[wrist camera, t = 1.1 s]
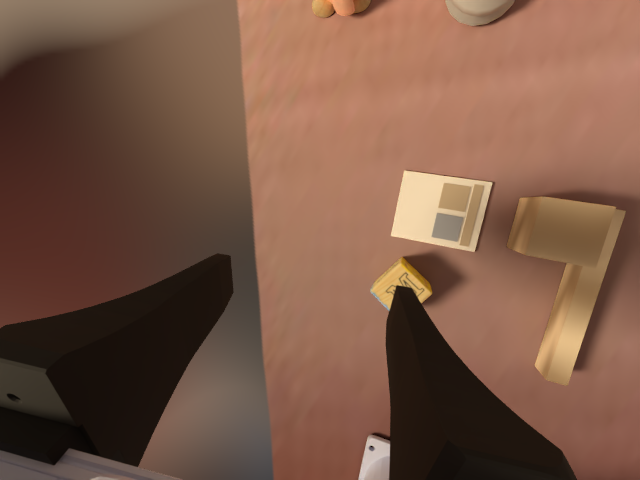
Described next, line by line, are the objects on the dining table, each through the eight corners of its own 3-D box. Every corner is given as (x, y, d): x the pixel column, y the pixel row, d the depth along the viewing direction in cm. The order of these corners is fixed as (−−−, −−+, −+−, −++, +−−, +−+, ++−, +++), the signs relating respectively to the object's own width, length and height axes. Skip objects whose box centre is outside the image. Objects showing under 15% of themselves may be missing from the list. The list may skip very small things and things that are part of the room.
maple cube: (563, 257, 20) (595, 268, 16) (506, 247, 21) (525, 255, 17) (579, 206, 19) (616, 206, 16) (520, 197, 20) (542, 196, 17)
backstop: (553, 370, 21) (567, 385, 19) (534, 365, 21) (546, 380, 19) (606, 210, 19) (626, 210, 17) (584, 207, 19) (601, 207, 17)
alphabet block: (373, 281, 24) (368, 291, 21) (401, 254, 23) (400, 262, 20) (400, 308, 23) (399, 323, 20) (430, 283, 22) (434, 294, 20)
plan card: (474, 251, 21) (475, 252, 21) (391, 235, 23) (390, 235, 22) (491, 182, 20) (492, 182, 20) (404, 170, 22) (404, 170, 22)
